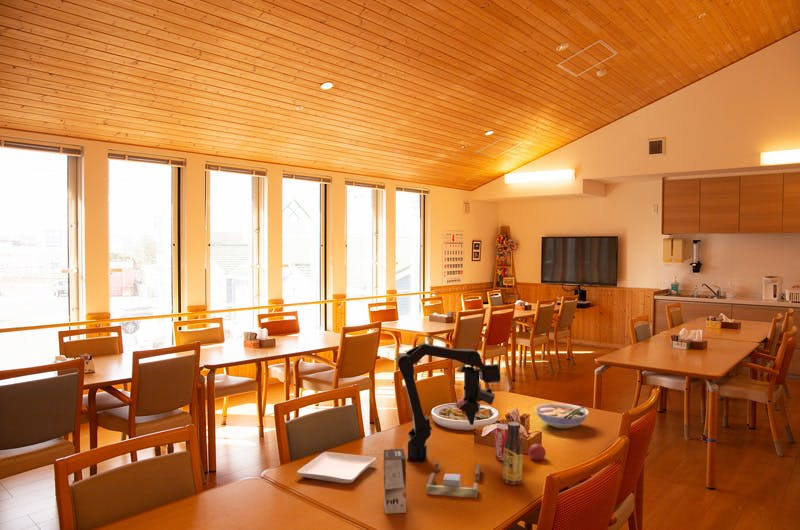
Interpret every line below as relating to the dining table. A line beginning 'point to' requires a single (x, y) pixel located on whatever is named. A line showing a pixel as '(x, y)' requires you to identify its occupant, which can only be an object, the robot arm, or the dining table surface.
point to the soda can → (500, 440)
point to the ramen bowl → (561, 414)
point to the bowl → (462, 416)
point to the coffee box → (394, 481)
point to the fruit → (537, 452)
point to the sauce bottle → (513, 456)
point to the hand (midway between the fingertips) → (471, 424)
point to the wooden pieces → (450, 489)
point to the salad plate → (336, 467)
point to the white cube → (452, 480)
